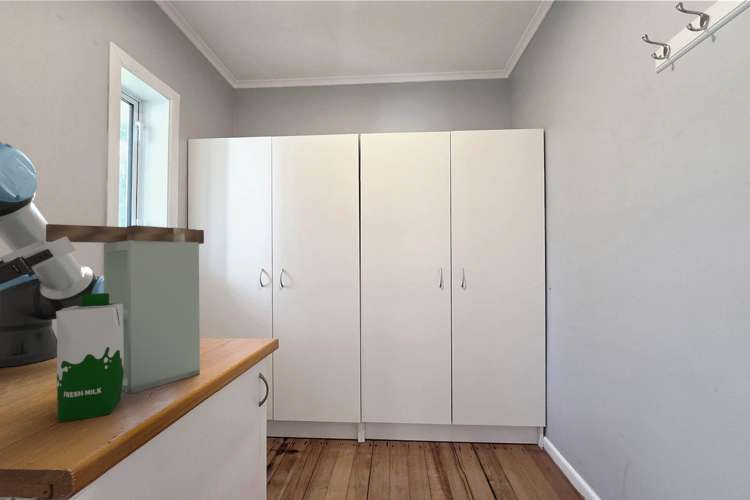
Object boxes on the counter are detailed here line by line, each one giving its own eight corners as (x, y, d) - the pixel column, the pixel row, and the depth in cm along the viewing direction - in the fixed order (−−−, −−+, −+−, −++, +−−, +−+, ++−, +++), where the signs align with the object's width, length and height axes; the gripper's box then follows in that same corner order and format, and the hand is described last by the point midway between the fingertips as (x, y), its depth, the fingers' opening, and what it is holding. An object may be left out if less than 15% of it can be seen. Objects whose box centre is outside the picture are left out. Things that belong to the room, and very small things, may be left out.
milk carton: (127, 397, 68) (127, 291, 69) (115, 416, 60) (115, 295, 61) (69, 405, 65) (70, 294, 65) (47, 426, 57) (48, 299, 57)
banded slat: (135, 240, 71) (135, 224, 71) (127, 241, 73) (127, 225, 73) (196, 242, 83) (196, 228, 83) (188, 243, 84) (188, 229, 84)
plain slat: (45, 240, 68) (45, 223, 68) (46, 241, 70) (46, 225, 70) (203, 243, 86) (203, 230, 86) (199, 243, 89) (199, 231, 89)
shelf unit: (130, 393, 70) (130, 240, 71) (103, 382, 78) (103, 243, 78) (199, 374, 82) (198, 242, 83) (170, 365, 89) (169, 244, 90)
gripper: (-96, 329, 60) (49, 263, 75) (-78, 347, 46) (96, 261, 61) (-135, 292, 57) (24, 231, 72) (-129, 299, 43) (68, 221, 58)
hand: (57, 244), depth 67 cm, fingers open, 13 cm apart
